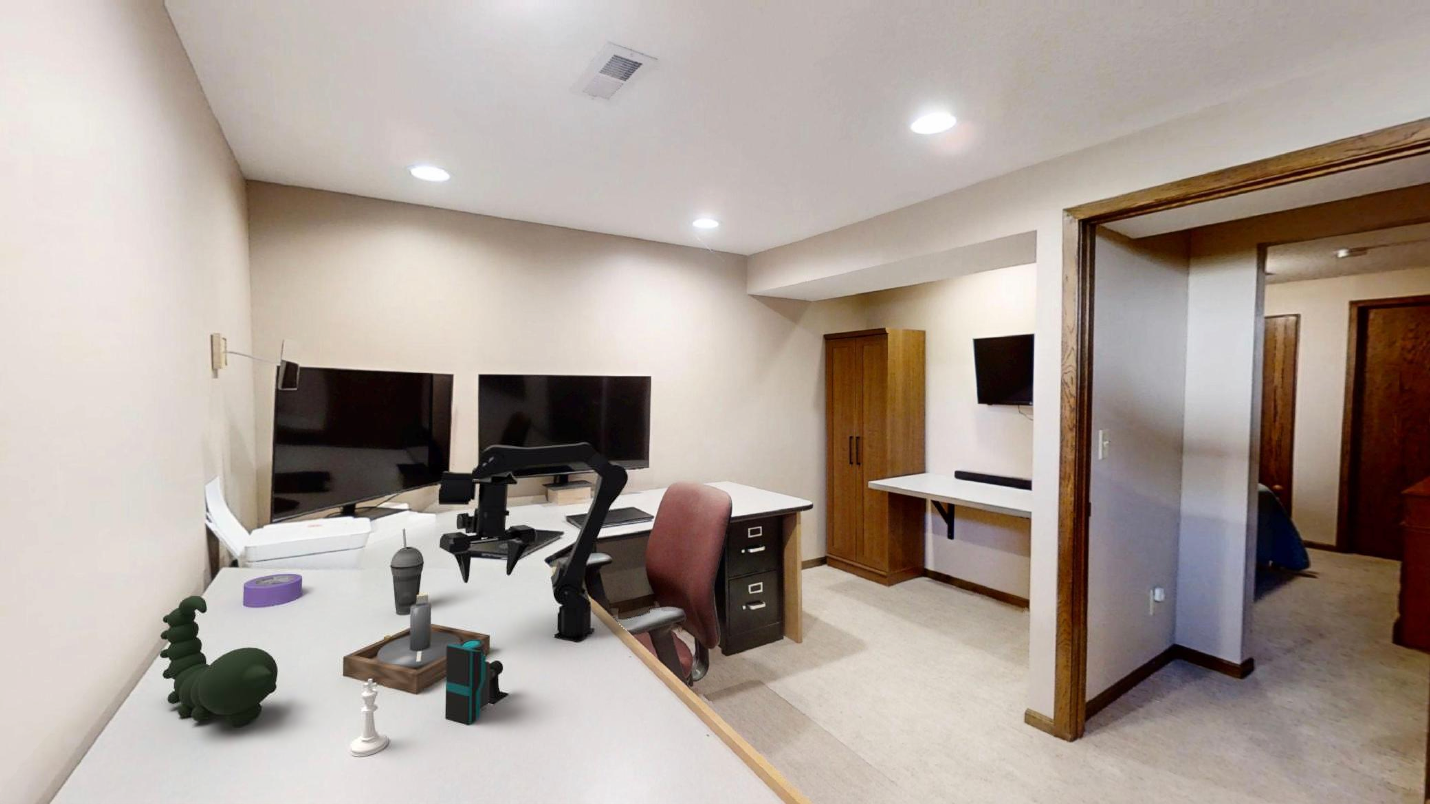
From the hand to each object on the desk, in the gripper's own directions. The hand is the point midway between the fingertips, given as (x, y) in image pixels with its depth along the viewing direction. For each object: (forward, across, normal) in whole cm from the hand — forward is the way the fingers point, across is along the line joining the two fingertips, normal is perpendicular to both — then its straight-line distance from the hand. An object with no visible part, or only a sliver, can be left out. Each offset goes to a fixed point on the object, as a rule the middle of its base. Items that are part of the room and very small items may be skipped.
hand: (487, 578), depth 120 cm
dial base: (+14, +12, 0) cm, 19 cm away
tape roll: (+17, +26, -63) cm, 70 cm away
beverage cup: (+15, +5, -31) cm, 35 cm away
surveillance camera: (+14, +11, +23) cm, 29 cm away
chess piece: (+15, +27, +22) cm, 38 cm away
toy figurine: (+16, +42, -4) cm, 45 cm away
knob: (+13, +12, -1) cm, 18 cm away
